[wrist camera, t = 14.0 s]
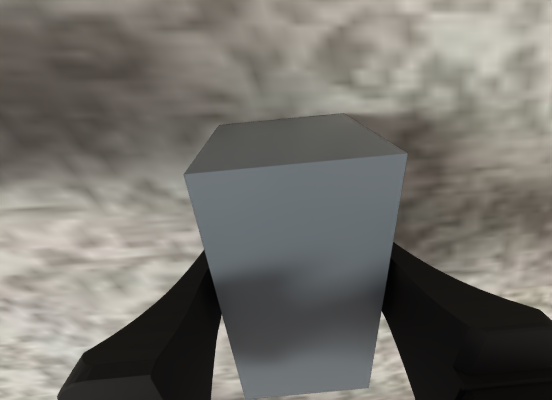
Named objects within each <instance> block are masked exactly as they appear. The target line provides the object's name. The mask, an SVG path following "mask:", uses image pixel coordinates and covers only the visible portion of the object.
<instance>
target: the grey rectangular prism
mask: <svg viewBox="0 0 552 400" xmlns="http://www.w3.org/2000/svg"><path fill="white" fill-rule="evenodd" d="M407 155H408V153H406V152H405V151H403V150H402V149H400V148H398V147H397V146H395V145H394V144H392V143H390V142H389V141H387V140H385V139H384V138H382V137H381V136H379V135H377V134H376V133H374V132H373V131H371V130H369V129H368V128H366V127H365V126H363V125H361V124H360V123H358V122H356V121H355V120H353V119H352V118H350V117H348V116H347V115H345V114H344V113H343V114H332V115H322V116H311V117H300V118H290V119H279V120H269V121H258V122H247V123H237V124H226V125H219V126H218V127H217V129H216V130H215V132H214V133H213V134H212V136H211V137H210V138H209V140H208V141H207V143H206V144H205V145H204V147H203V148H202V150H201V151H200V152H199V154H198V155H197V157H196V158H195V159H194V161H193V162H192V164H191V165H190V166H189V168H188V169H187V171H186V172H185V173H184V177H185V181H186V185H187V188H188V192H189V196H190V199H191V203H192V207H193V210H194V214H195V217H196V221H197V225H198V228H199V232H200V236H201V239H202V243H203V247H204V250H205V254H206V258H207V261H208V265H209V268H210V272H211V276H212V279H213V283H214V287H215V290H216V294H217V298H218V301H219V305H220V309H221V312H222V316H223V320H224V323H225V327H226V330H227V334H228V338H229V341H230V345H231V349H232V352H233V356H234V360H235V363H236V367H237V371H238V374H239V378H240V382H241V385H242V389H243V392H244V396H245V400H246V399H257V398H267V397H278V396H288V395H299V394H310V393H320V392H331V391H341V390H352V389H362V388H369V383H370V377H371V371H372V365H373V359H374V353H375V347H376V341H377V335H378V329H379V323H380V317H381V311H382V305H383V299H384V293H385V287H386V281H387V275H388V269H389V263H390V257H391V251H392V245H393V239H394V233H395V227H396V221H397V215H398V209H399V203H400V197H401V191H402V185H403V179H404V173H405V167H406V161H407Z"/></svg>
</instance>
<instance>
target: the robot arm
mask: <svg viewBox="0 0 552 400" xmlns="http://www.w3.org/2000/svg"><path fill="white" fill-rule="evenodd" d="M382 312H383V314H384V316H385V318H386V321H387V323H388V325H389V327H390V330H391V333H392V335H393V338H394V340H395V343H396V345H397V348H398V351H399V354H400V356H401V359H402V362H403V364H404V367H405V370H406V373H407V376H408V379H409V382H410V385H411V388H412V391H413V394H414V397H415V400H552V320H551V319H550V318H549V317H547V316H546V315H545V314H544V313H543V312H542V311H541V310H539V309H536V308H533V307H529V306H526V305H523V304H520V303H517V302H514V301H510V300H507V299H504V298H502V297H499V296H496V295H494V294H491V293H488V292H485V291H483V290H480V289H478V288H476V287H473V286H471V285H468V284H466V283H464V282H462V281H459V280H457V279H455V278H453V277H451V276H449V275H447V274H445V273H443V272H441V271H439V270H437V269H435V268H433V267H432V266H430V265H428V264H426V263H425V262H423V261H421V260H420V259H418V258H417V257H415V256H413V255H412V254H410V253H409V252H407V251H406V250H404V249H403V248H401V247H400V246H398V245H397V244H395V243H394V242H393V245H392V251H391V257H390V263H389V269H388V275H387V281H386V287H385V293H384V299H383V305H382ZM221 315H222V312H221V309H220V305H219V301H218V298H217V294H216V290H215V287H214V283H213V279H212V276H211V272H210V268H209V265H208V261H207V258H206V254H205V250H204V251H203V252H202V253H201V254H200V256H199V257H198V258H197V260H196V261H195V262H194V263H193V264H192V266H191V267H190V268H189V269H188V271H187V272H186V273H185V274H184V275H183V276H182V277H181V278H180V280H179V281H178V282H177V283H176V284H175V285H174V286H173V287H172V288H171V289H170V290H169V291H168V292H167V293H166V294H165V295H164V296H163V297H162V298H161V299H160V300H158V301H157V302H156V303H155V304H154V305H153V306H151V307H150V308H149V309H148V310H146V311H145V312H144V313H143V314H141V315H140V316H139V317H138V318H136V319H135V320H134V321H132V322H131V323H130V324H128V325H127V326H125V327H124V328H123V329H121V330H120V331H118V332H117V333H115V334H114V335H112V336H111V337H109V338H108V339H106V340H104V341H103V342H101V343H99V344H98V345H96V346H95V347H93V348H91V349H90V350H88V351H86V352H85V353H83V355H82V356H81V358H80V359H79V361H78V362H77V364H76V365H75V367H74V369H73V370H72V372H71V374H70V375H69V377H68V378H67V380H66V382H65V383H64V385H63V387H62V388H61V390H60V391H59V394H58V396H57V399H58V400H211V390H212V378H213V368H214V358H215V349H216V340H217V335H218V329H219V325H220V320H221Z"/></svg>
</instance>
